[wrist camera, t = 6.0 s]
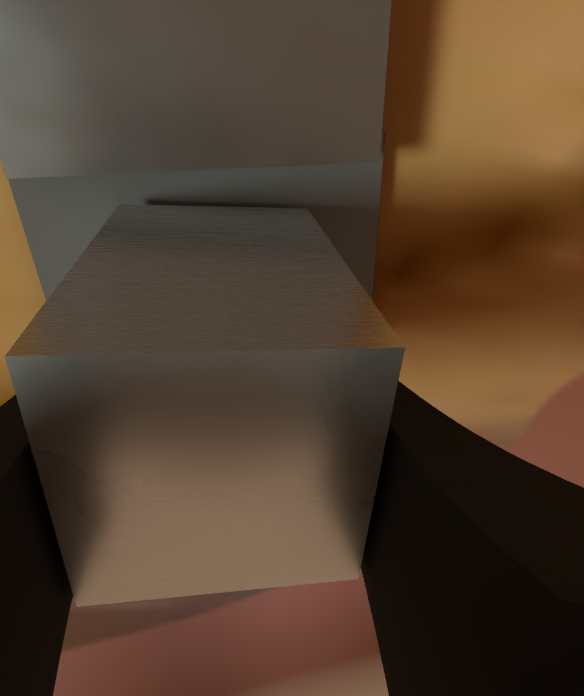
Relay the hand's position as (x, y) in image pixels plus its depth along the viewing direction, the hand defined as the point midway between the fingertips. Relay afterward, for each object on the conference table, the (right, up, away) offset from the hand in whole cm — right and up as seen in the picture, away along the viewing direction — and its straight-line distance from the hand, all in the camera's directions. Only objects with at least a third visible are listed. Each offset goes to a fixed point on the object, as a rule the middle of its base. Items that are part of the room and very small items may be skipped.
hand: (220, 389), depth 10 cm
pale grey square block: (0, +2, +2) cm, 3 cm away
